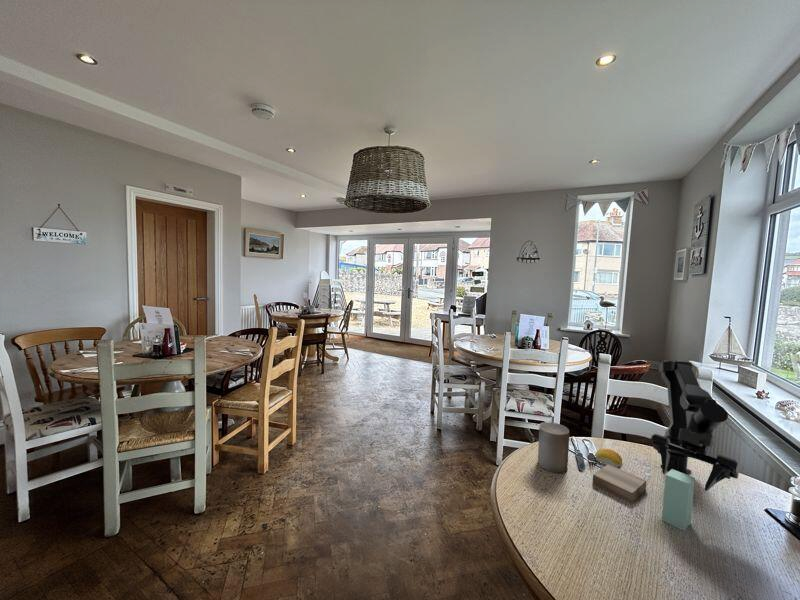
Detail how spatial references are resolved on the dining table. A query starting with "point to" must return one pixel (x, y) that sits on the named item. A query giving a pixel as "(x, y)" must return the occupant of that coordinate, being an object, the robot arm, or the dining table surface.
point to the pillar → (678, 499)
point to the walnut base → (619, 482)
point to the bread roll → (608, 457)
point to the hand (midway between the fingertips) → (683, 481)
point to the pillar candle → (553, 447)
